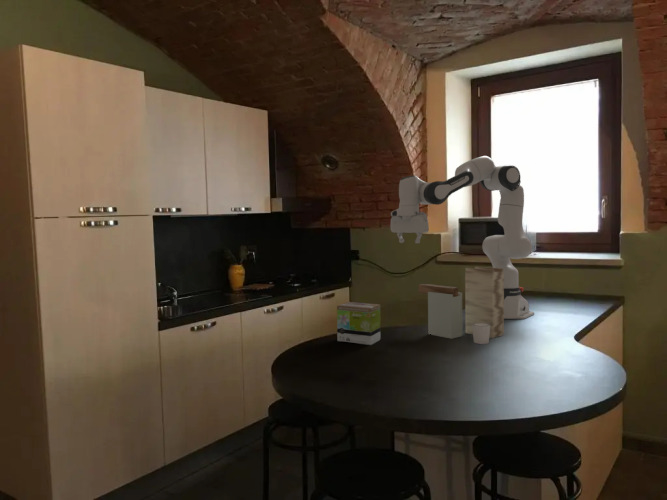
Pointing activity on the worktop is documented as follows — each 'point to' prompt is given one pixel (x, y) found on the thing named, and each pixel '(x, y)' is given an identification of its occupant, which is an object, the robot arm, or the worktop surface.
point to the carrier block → (445, 315)
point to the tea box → (358, 323)
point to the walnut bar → (437, 289)
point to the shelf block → (485, 299)
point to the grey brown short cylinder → (481, 333)
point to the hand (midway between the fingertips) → (409, 242)
